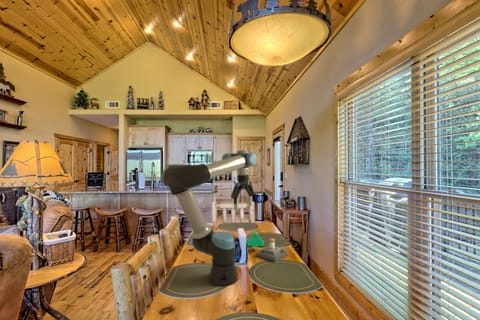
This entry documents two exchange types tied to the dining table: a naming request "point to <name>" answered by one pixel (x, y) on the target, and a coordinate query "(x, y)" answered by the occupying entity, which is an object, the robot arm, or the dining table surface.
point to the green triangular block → (255, 240)
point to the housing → (272, 254)
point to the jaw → (272, 244)
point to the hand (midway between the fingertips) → (243, 207)
